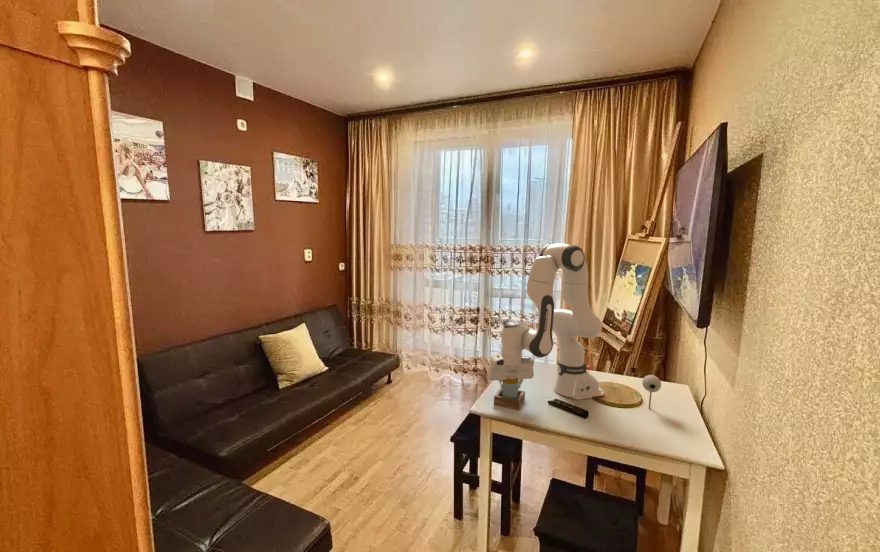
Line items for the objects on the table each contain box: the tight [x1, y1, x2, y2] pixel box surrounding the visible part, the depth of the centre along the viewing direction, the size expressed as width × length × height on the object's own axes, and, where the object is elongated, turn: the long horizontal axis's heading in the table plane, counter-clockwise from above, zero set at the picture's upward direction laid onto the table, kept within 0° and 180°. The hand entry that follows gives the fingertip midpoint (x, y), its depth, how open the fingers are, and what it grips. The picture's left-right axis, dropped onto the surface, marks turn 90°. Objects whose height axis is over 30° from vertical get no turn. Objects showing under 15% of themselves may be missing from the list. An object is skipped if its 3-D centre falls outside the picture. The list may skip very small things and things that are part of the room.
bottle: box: [501, 371, 519, 400], centre depth 169 cm, size 7×7×15 cm
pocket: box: [493, 387, 526, 411], centre depth 170 cm, size 11×11×4 cm
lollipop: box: [641, 374, 662, 410], centre depth 164 cm, size 7×7×15 cm
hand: (510, 388), depth 169 cm, fingers closed on bottle, 6 cm apart
